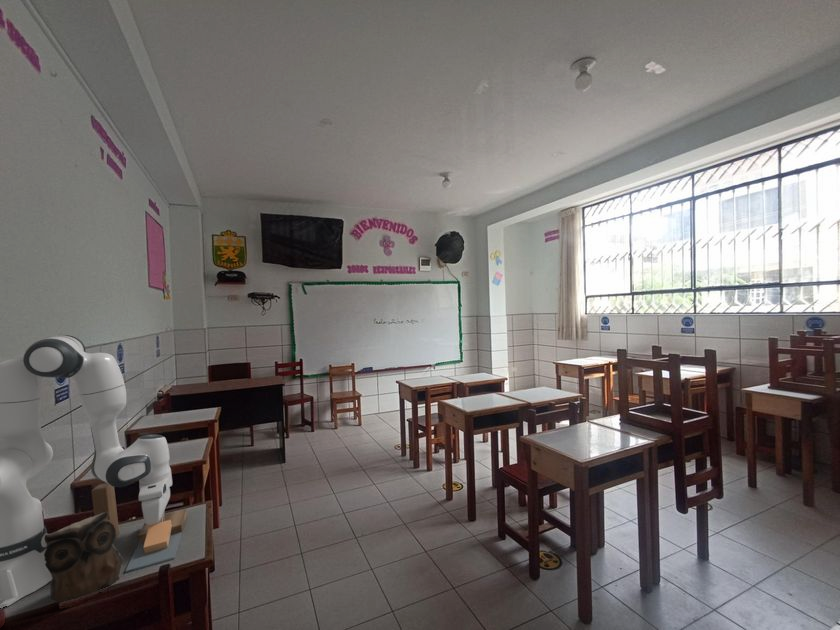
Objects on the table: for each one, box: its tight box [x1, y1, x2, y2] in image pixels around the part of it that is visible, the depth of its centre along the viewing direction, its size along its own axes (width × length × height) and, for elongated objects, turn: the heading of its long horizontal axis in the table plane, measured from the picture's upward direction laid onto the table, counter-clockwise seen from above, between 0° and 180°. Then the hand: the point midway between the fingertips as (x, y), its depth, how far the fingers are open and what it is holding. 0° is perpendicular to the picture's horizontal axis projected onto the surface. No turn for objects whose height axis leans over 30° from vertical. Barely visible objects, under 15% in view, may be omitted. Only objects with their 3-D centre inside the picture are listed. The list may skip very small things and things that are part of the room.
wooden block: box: [91, 482, 120, 536], centre depth 131 cm, size 9×4×18 cm, turn 100°
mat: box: [124, 532, 183, 574], centre depth 122 cm, size 12×15×1 cm
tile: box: [143, 520, 172, 554], centre depth 125 cm, size 6×9×2 cm, turn 24°
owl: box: [44, 512, 124, 604], centre depth 105 cm, size 13×13×20 cm
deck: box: [137, 508, 188, 544], centre depth 134 cm, size 12×12×3 cm
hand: (160, 524), depth 130 cm, fingers closed
